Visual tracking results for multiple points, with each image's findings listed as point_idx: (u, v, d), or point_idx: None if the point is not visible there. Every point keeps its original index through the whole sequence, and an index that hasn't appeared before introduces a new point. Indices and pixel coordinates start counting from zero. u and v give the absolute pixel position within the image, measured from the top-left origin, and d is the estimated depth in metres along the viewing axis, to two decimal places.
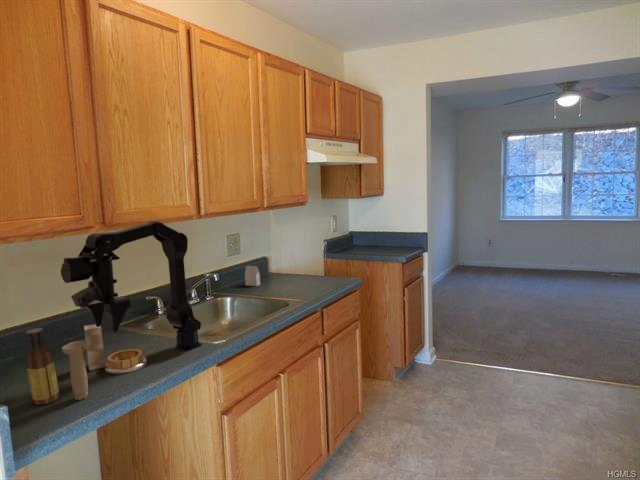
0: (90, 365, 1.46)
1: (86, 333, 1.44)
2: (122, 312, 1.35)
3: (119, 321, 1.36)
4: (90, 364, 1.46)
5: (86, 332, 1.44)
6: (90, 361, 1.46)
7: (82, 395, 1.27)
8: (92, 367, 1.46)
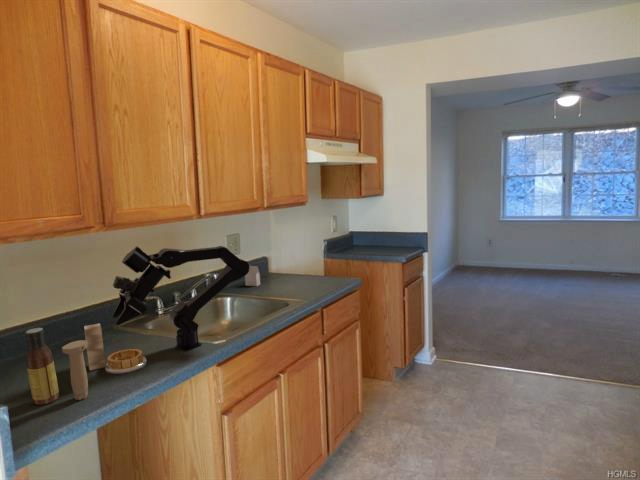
0: (90, 365, 1.46)
1: (86, 333, 1.44)
2: (134, 314, 1.46)
3: (126, 318, 1.46)
4: (90, 364, 1.46)
5: (86, 332, 1.44)
6: (90, 361, 1.46)
7: (82, 395, 1.27)
8: (92, 367, 1.46)
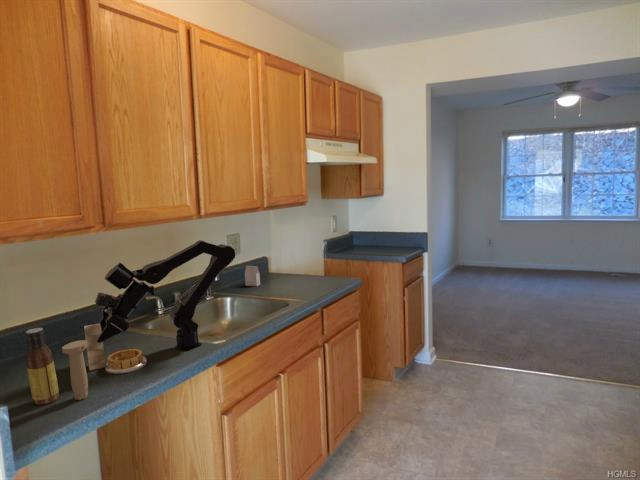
0: (90, 365, 1.46)
1: (86, 333, 1.44)
2: (115, 331, 1.44)
3: (108, 336, 1.44)
4: (90, 364, 1.46)
5: (86, 332, 1.44)
6: (90, 361, 1.46)
7: (82, 395, 1.27)
8: (92, 367, 1.46)
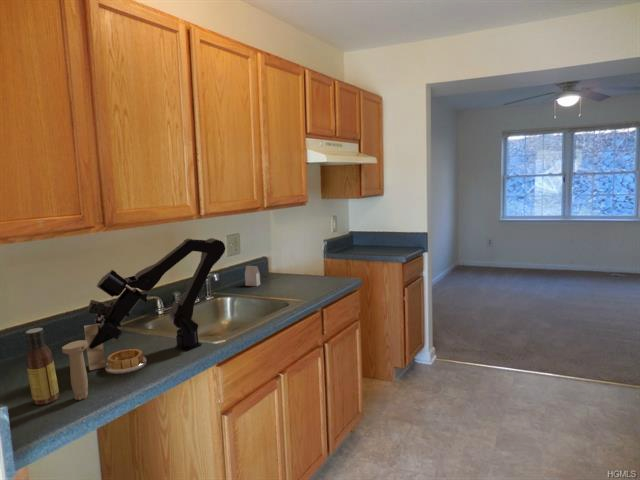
0: (90, 365, 1.46)
1: (86, 333, 1.44)
2: (107, 337, 1.46)
3: (100, 342, 1.45)
4: (90, 364, 1.46)
5: (85, 332, 1.44)
6: (90, 361, 1.46)
7: (82, 395, 1.27)
8: (92, 367, 1.46)
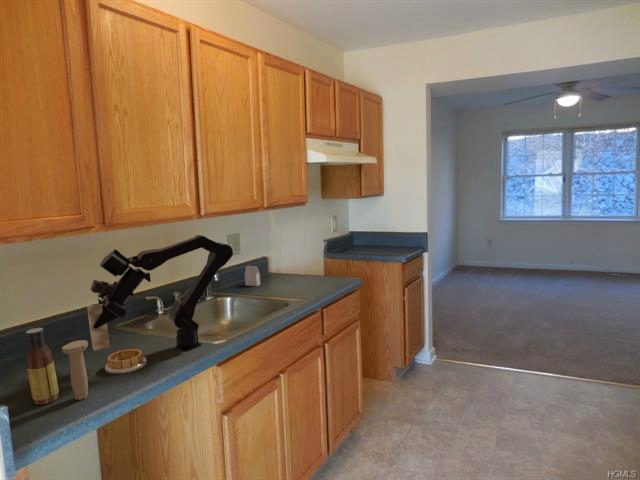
0: (94, 345, 1.45)
1: (90, 313, 1.43)
2: (112, 316, 1.45)
3: (104, 321, 1.44)
4: (94, 344, 1.45)
5: (89, 311, 1.43)
6: (94, 341, 1.44)
7: (82, 395, 1.27)
8: (96, 347, 1.45)
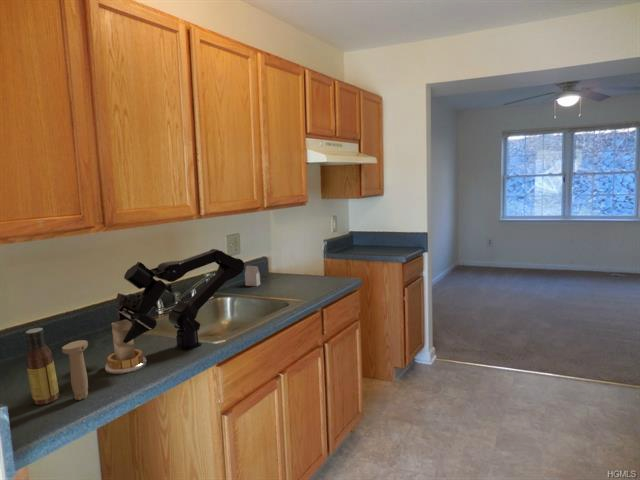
0: None
1: (118, 329, 1.44)
2: (142, 330, 1.44)
3: (134, 336, 1.44)
4: None
5: (117, 327, 1.43)
6: (122, 357, 1.45)
7: (82, 395, 1.27)
8: None
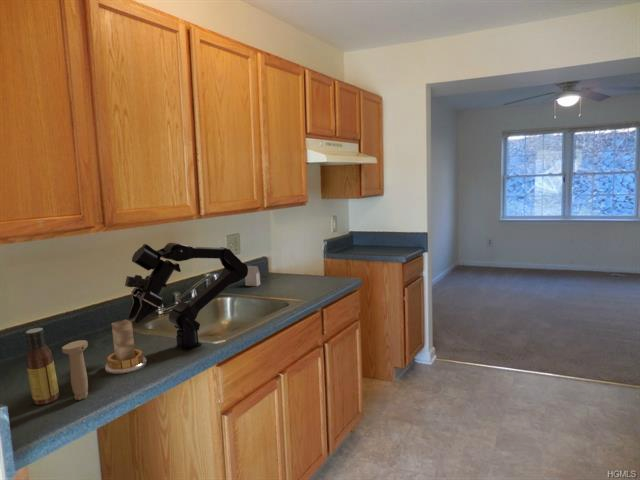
0: None
1: (118, 329, 1.43)
2: (151, 309, 1.46)
3: (144, 315, 1.46)
4: None
5: (118, 328, 1.43)
6: (122, 357, 1.45)
7: (82, 395, 1.27)
8: None
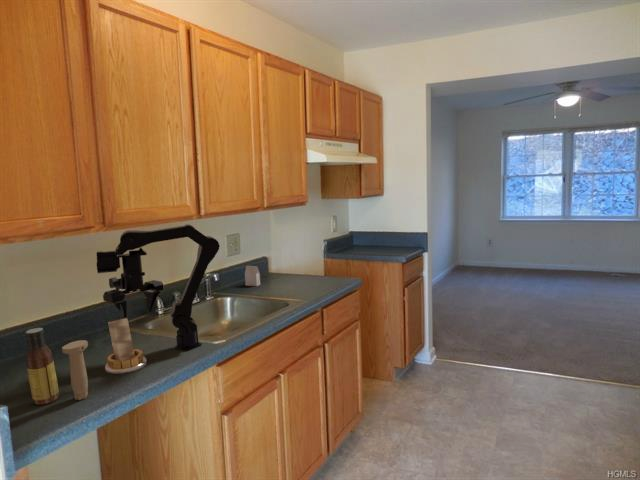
0: (121, 358, 1.45)
1: (114, 325, 1.46)
2: (120, 305, 1.48)
3: (122, 312, 1.50)
4: (120, 357, 1.45)
5: (113, 323, 1.45)
6: (120, 353, 1.45)
7: (82, 395, 1.27)
8: None
